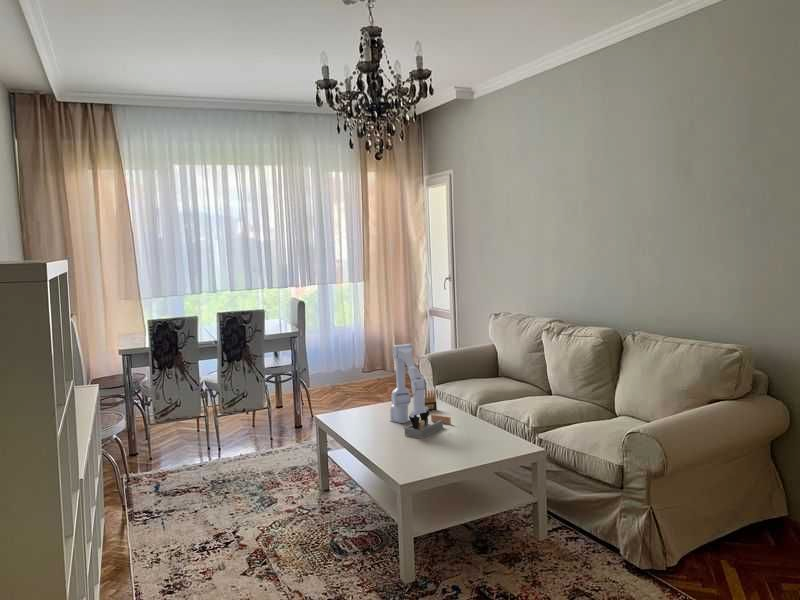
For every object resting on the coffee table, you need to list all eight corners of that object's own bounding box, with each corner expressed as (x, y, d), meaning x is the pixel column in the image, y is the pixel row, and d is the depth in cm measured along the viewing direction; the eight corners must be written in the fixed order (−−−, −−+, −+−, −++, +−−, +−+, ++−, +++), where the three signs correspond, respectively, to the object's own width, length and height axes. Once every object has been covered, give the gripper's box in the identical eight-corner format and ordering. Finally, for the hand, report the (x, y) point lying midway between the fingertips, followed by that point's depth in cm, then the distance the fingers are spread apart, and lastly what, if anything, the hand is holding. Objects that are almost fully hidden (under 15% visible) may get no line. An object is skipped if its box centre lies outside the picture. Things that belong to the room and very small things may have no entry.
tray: (404, 435, 317) (404, 427, 317) (426, 424, 334) (426, 417, 334) (421, 438, 311) (421, 430, 311) (442, 427, 328) (442, 420, 328)
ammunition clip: (435, 409, 363) (435, 389, 362) (436, 410, 362) (436, 390, 360) (418, 411, 360) (418, 391, 359) (419, 412, 359) (418, 392, 358)
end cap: (431, 421, 339) (431, 414, 339) (432, 420, 340) (432, 414, 340) (449, 424, 333) (449, 417, 332) (450, 423, 334) (450, 417, 333)
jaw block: (414, 432, 319) (413, 421, 318) (418, 430, 322) (418, 419, 321) (420, 434, 316) (420, 422, 316) (424, 431, 320) (424, 420, 319)
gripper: (417, 406, 309) (418, 432, 311) (432, 399, 321) (433, 424, 323) (406, 404, 313) (407, 430, 315) (421, 397, 325) (422, 422, 327)
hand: (419, 427), depth 319 cm, fingers open, 7 cm apart
